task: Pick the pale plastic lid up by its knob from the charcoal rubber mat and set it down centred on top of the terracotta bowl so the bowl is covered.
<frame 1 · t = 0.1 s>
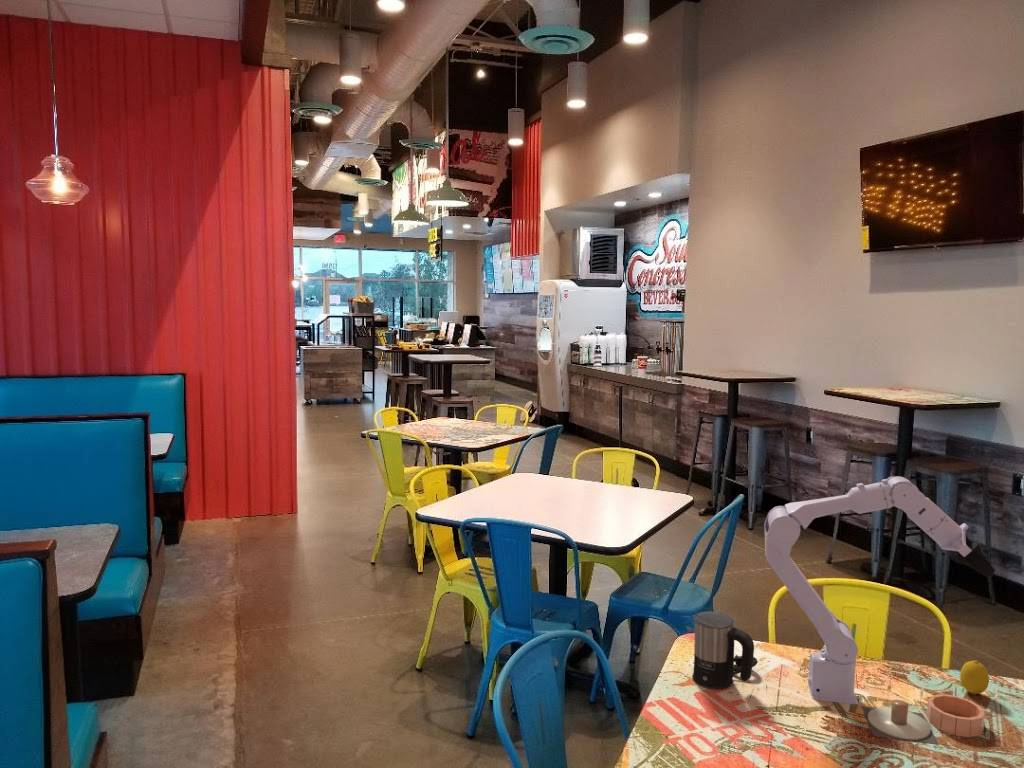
hand: (984, 567, 164), 32 cm above the table, tool tilted 50°, fingers open, 7 cm apart
bowl: (954, 724, 162), on the table
milk frother: (724, 676, 183), on the table
mat: (898, 726, 161), on the table
lemon: (973, 695, 175), on the table
lid: (898, 724, 161), resting on mat
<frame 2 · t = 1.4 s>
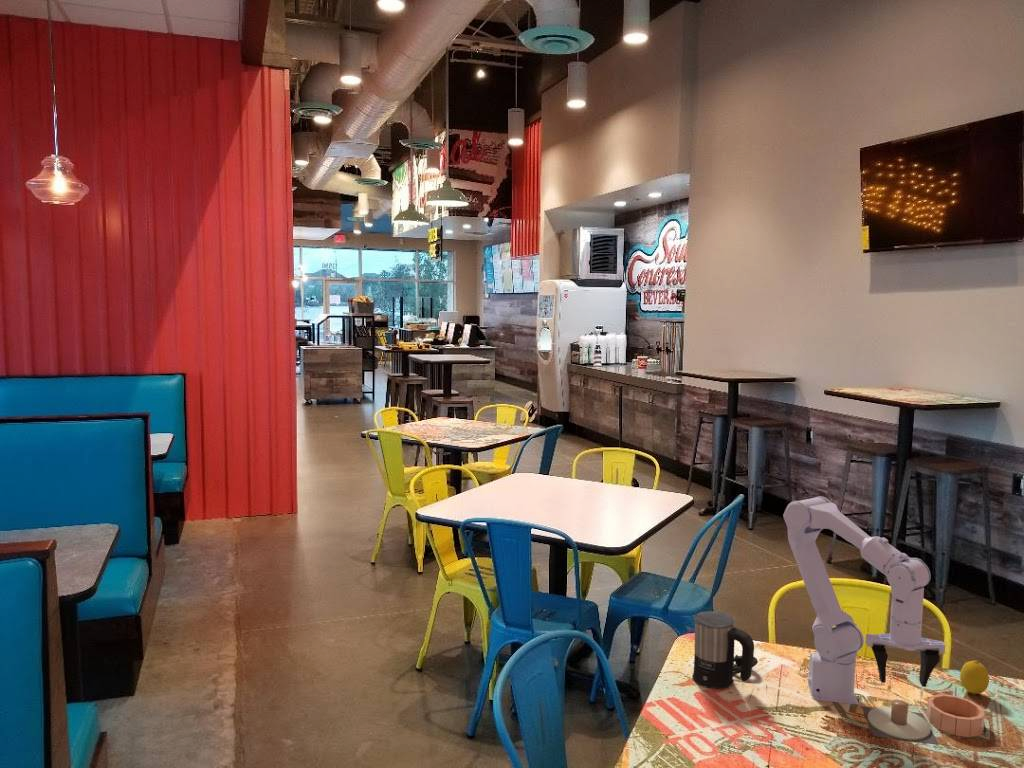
hand: (902, 682, 160), 10 cm above the table, tool pointing down, fingers open, 7 cm apart
nothing on the table moved.
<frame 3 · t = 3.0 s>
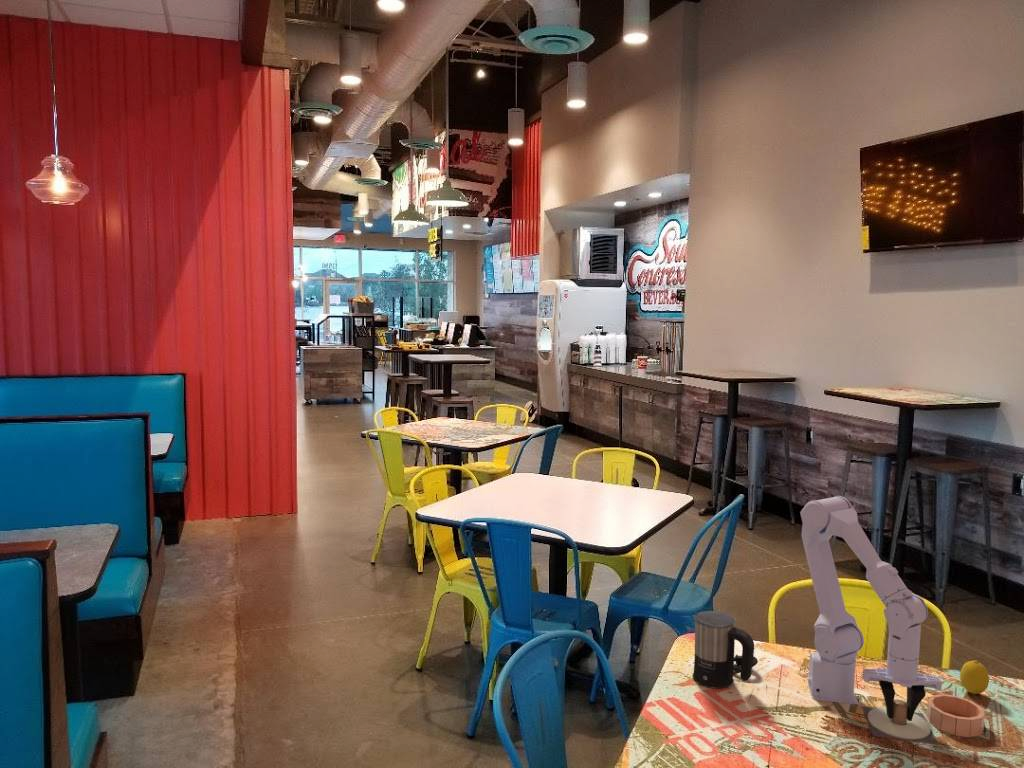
hand: (899, 717, 161), 2 cm above the table, tool pointing down, fingers closed on lid, 3 cm apart
lid: (898, 724, 161), resting on mat, touching gripper
everything else where it was.
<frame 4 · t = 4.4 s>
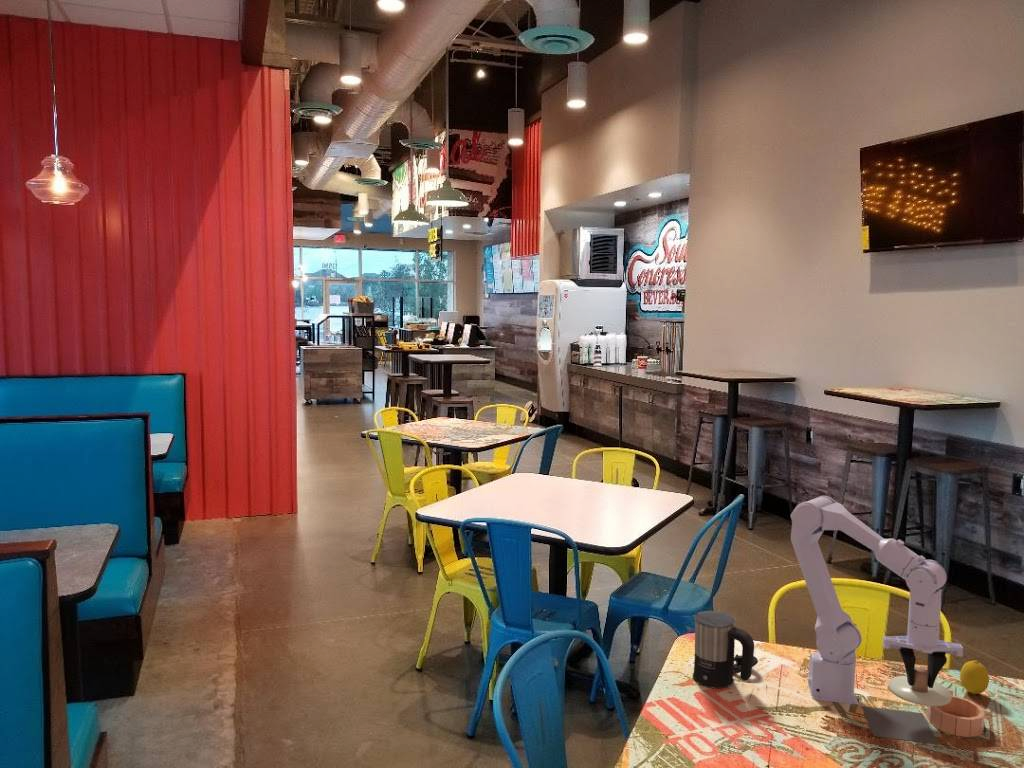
hand: (919, 684, 161), 9 cm above the table, tool pointing down, fingers closed on lid, 3 cm apart
lid: (919, 691, 161), point 7 cm above the table, touching gripper
everything else where it was.
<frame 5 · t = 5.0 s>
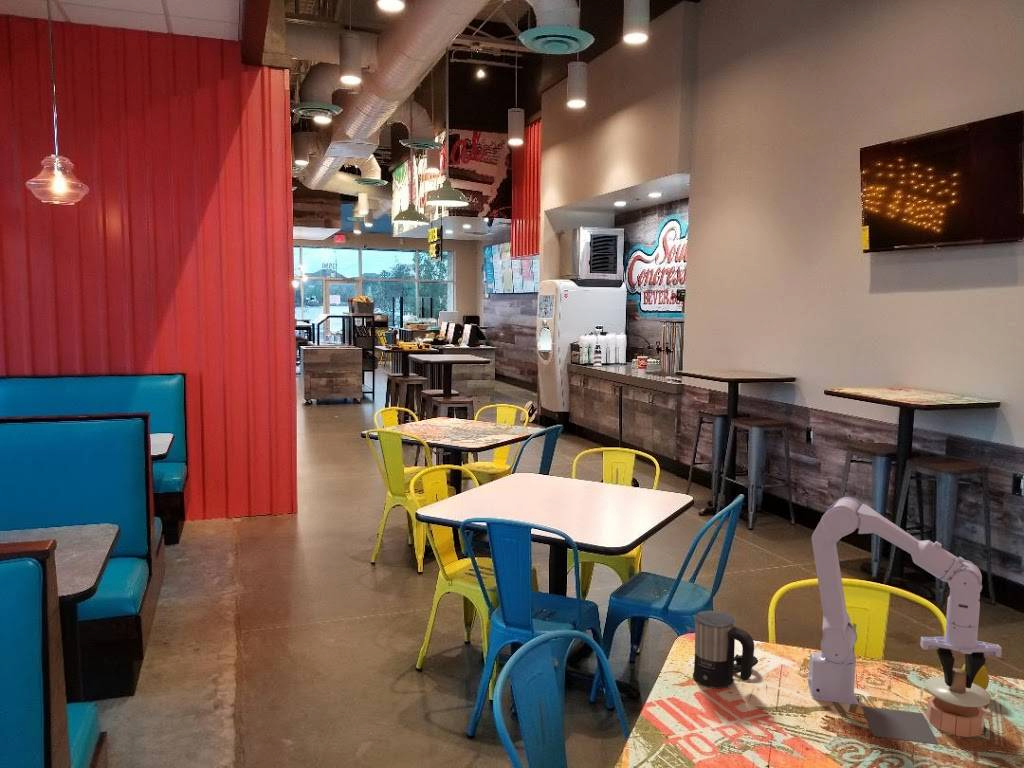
hand: (957, 685, 161), 9 cm above the table, tool pointing down, fingers closed on lid, 3 cm apart
lid: (957, 692, 161), point 7 cm above the table, touching gripper
everything else where it was.
when the fingers open (7 cm above the table, at t = 5.7 s): lid drops 1 cm, resting on bowl.
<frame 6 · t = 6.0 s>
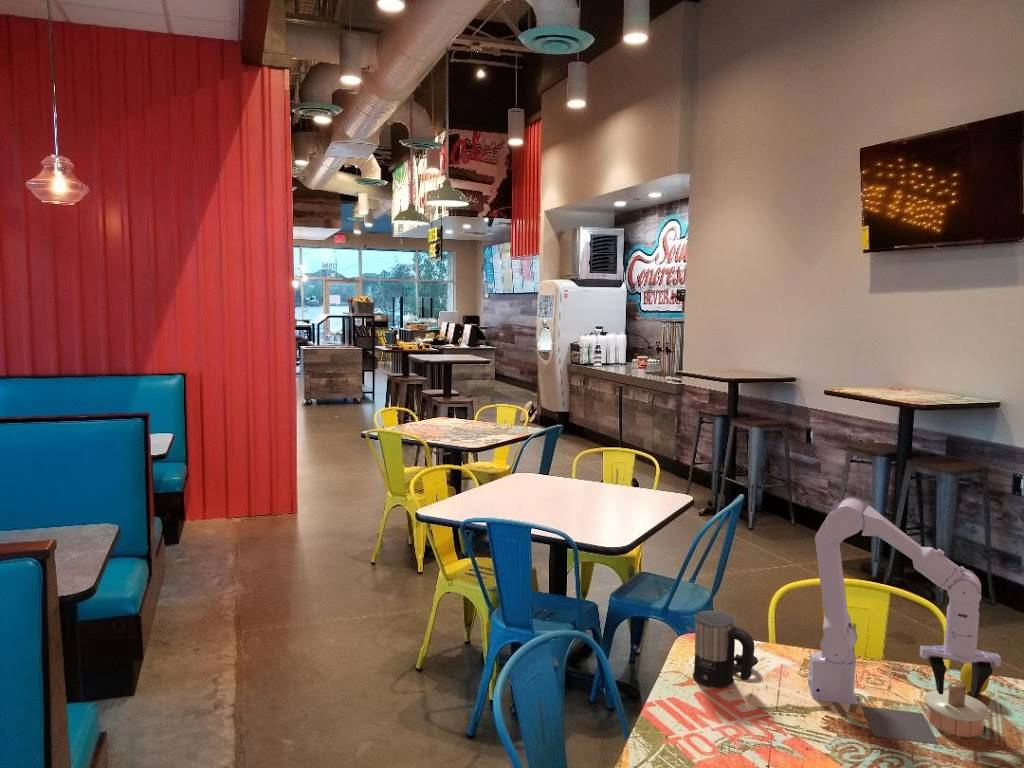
hand: (956, 694, 161), 7 cm above the table, tool pointing down, fingers open, 6 cm apart
lid: (956, 706, 162), point 4 cm above the table, touching bowl
everything else where it was.
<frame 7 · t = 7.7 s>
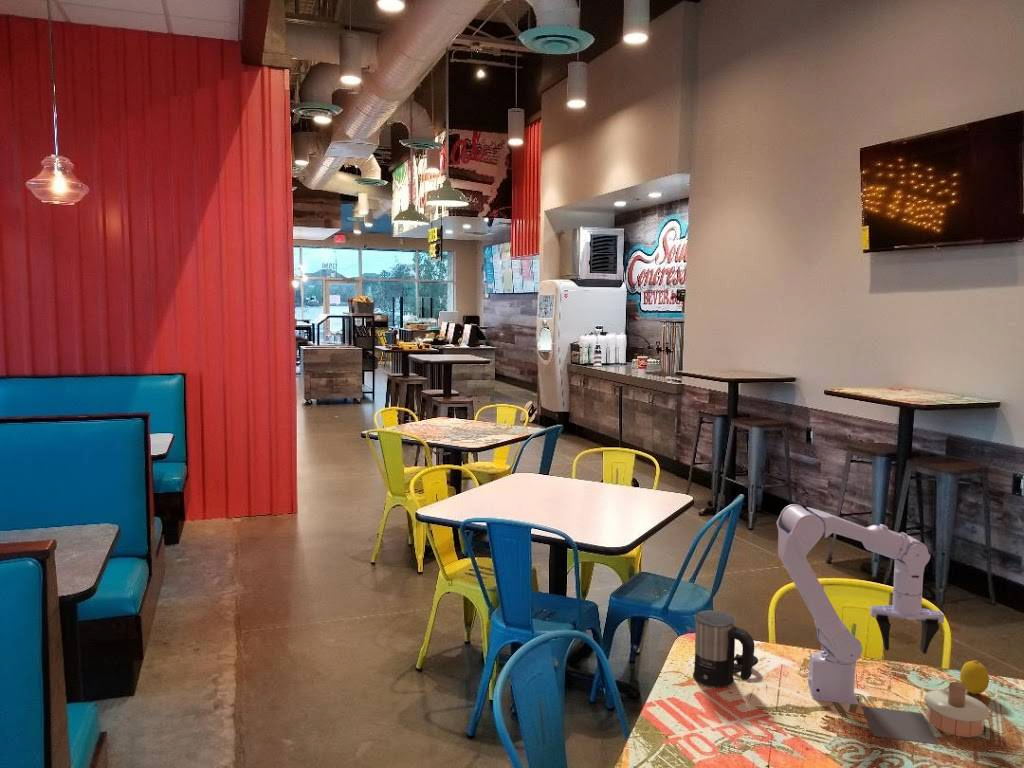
hand: (904, 649, 173), 10 cm above the table, tool pointing down, fingers open, 7 cm apart
nothing on the table moved.
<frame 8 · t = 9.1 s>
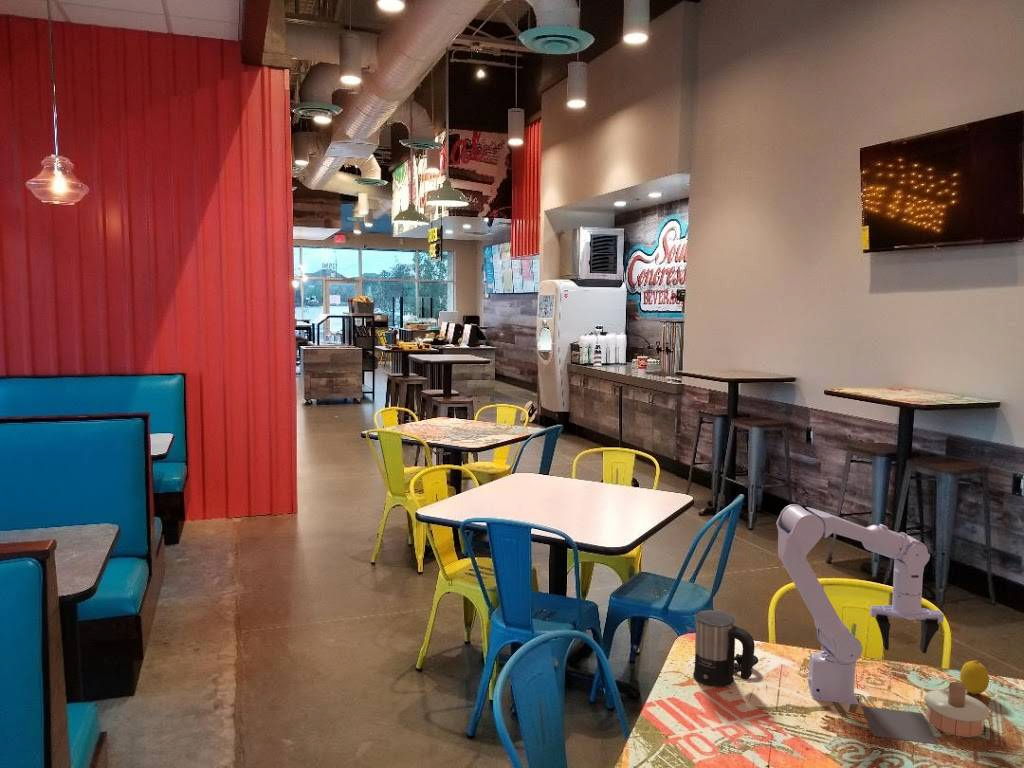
hand: (904, 649, 174), 10 cm above the table, tool pointing down, fingers open, 7 cm apart
nothing on the table moved.
at the end: lid 0.1 cm off-centre on the bowl, point 4.0 cm above the bowl's base; lid tilted 0°; the gripper is holding nothing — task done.
